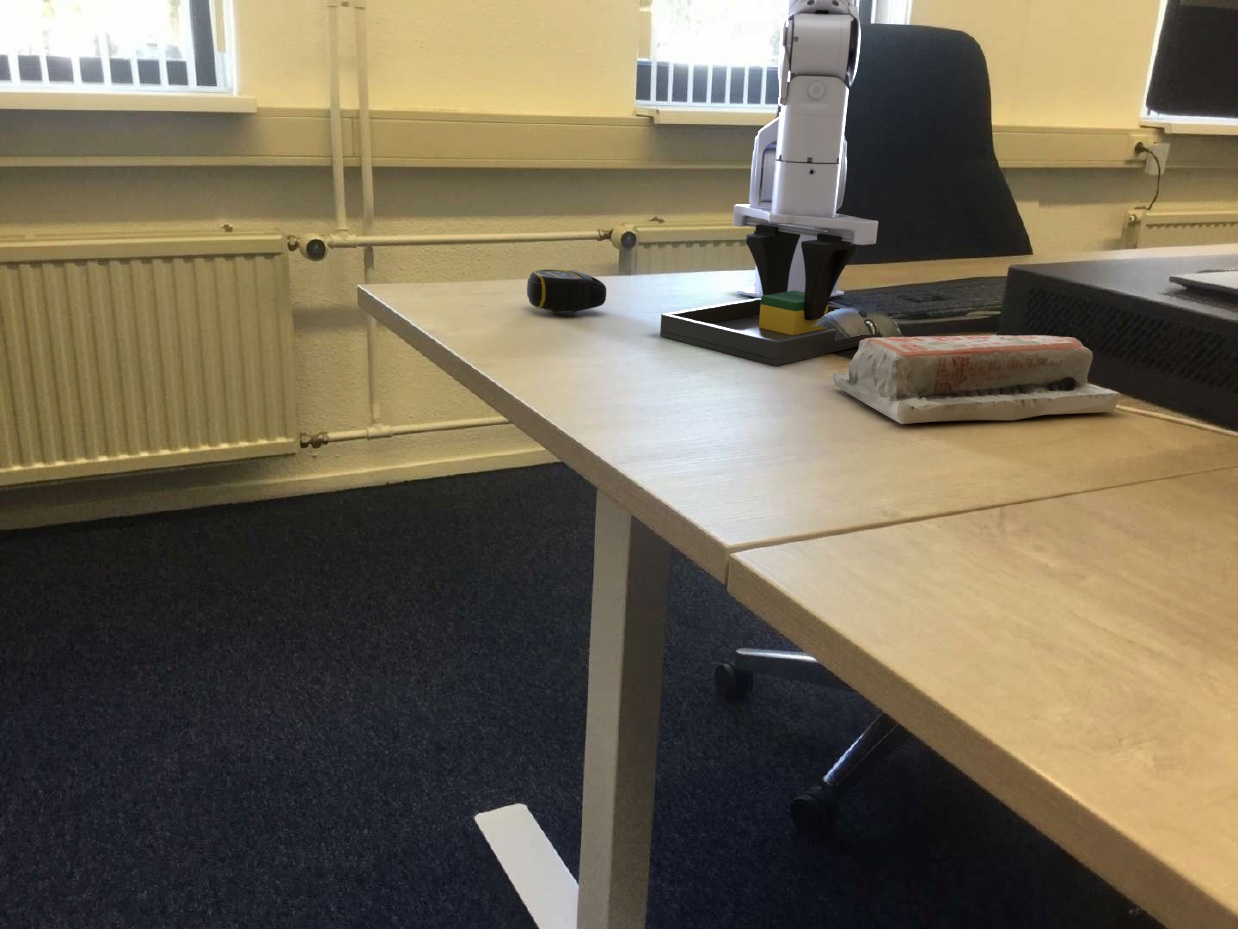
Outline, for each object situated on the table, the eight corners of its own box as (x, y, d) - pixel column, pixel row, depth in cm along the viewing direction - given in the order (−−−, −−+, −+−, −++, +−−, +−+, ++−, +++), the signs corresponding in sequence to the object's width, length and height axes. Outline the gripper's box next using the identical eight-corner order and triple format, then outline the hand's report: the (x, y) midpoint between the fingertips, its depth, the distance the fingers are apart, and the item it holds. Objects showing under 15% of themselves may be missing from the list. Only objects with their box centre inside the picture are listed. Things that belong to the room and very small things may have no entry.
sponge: (791, 321, 100) (794, 290, 99) (825, 328, 97) (829, 296, 96) (758, 327, 96) (761, 295, 95) (793, 335, 94) (796, 302, 93)
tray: (777, 314, 105) (779, 294, 104) (891, 338, 96) (893, 317, 96) (659, 335, 94) (660, 314, 93) (775, 366, 85) (778, 342, 84)
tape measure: (608, 315, 101) (610, 277, 100) (544, 320, 98) (545, 280, 97) (577, 302, 107) (578, 266, 106) (516, 306, 104) (516, 268, 103)
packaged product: (909, 358, 68) (836, 326, 77) (900, 428, 70) (830, 389, 79) (1132, 349, 73) (1040, 319, 82) (1119, 415, 75) (1030, 379, 84)
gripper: (715, 156, 94) (705, 305, 98) (851, 168, 84) (833, 334, 89) (765, 155, 98) (753, 297, 103) (898, 167, 89) (879, 324, 93)
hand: (793, 314), depth 96 cm, fingers closed on sponge, 4 cm apart
